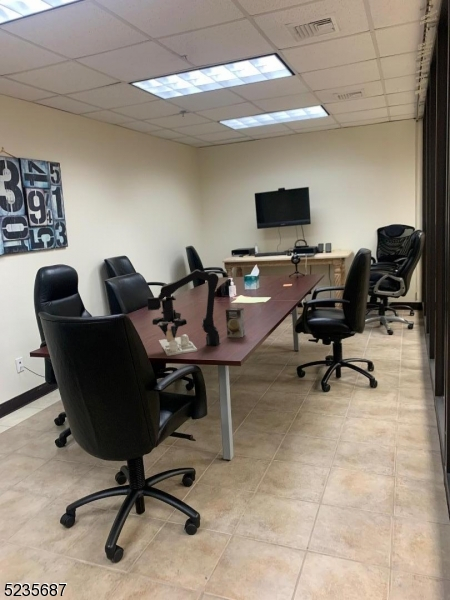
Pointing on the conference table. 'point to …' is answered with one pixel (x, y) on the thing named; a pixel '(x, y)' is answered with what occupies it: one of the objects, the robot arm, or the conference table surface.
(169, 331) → the brown egg
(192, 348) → the egg carton
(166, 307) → the robot arm
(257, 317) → the conference table surface
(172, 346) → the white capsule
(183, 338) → the cream egg back
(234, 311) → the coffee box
